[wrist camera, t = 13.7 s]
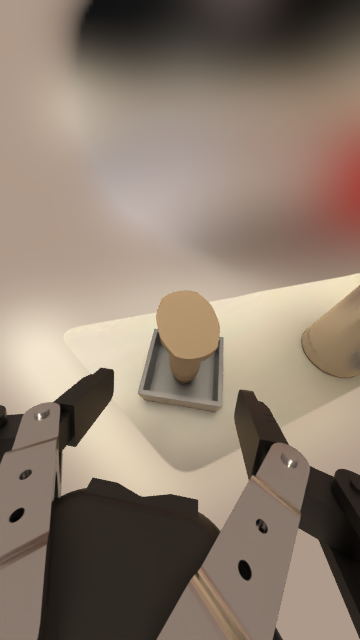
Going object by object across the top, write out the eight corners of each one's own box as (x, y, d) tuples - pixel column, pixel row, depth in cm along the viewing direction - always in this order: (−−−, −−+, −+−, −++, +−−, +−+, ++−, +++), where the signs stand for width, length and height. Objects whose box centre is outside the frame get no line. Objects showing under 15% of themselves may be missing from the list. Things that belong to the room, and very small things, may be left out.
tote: (217, 351, 30) (223, 337, 25) (215, 411, 25) (222, 406, 21) (158, 343, 30) (154, 328, 26) (144, 400, 26) (137, 393, 21)
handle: (193, 351, 29) (203, 286, 16) (206, 392, 26) (230, 350, 13) (164, 358, 28) (151, 296, 16) (172, 400, 25) (165, 365, 12)
